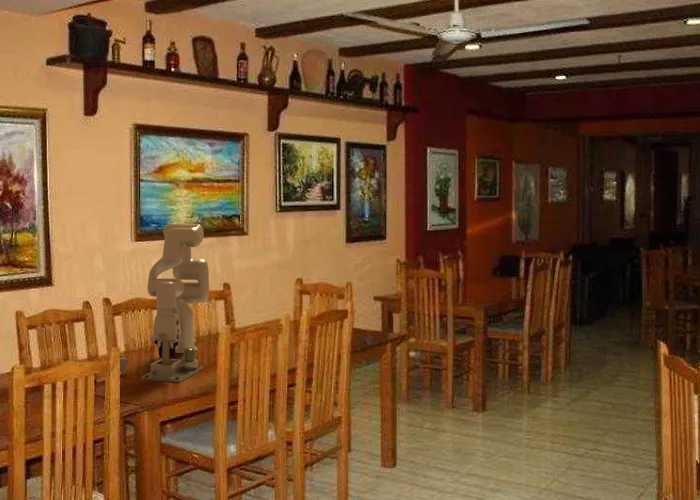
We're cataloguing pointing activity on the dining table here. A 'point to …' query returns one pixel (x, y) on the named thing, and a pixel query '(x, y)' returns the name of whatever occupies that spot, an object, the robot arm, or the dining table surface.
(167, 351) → the handle
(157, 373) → the fitting
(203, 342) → the dining table surface
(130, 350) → the dining table surface
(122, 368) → the hinge
